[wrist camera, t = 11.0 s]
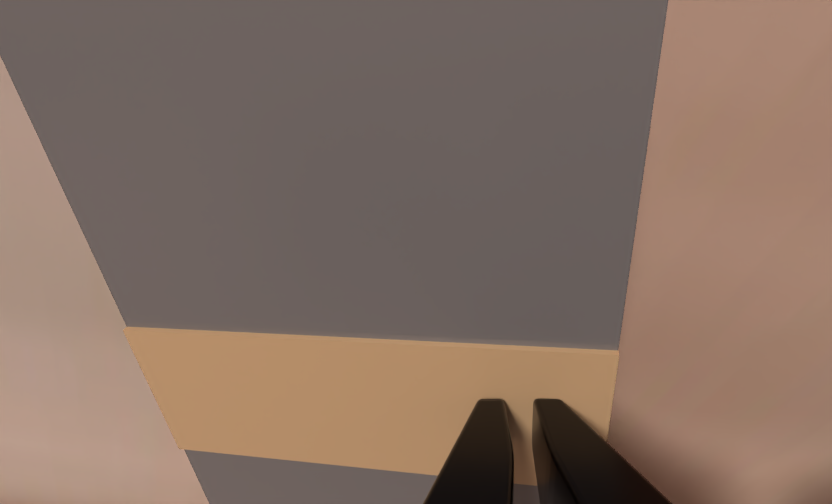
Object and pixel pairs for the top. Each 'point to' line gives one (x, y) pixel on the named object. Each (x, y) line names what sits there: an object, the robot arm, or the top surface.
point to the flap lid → (351, 218)
